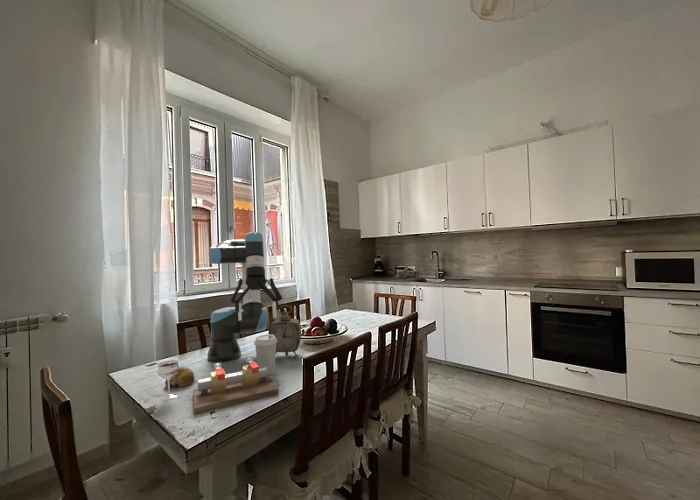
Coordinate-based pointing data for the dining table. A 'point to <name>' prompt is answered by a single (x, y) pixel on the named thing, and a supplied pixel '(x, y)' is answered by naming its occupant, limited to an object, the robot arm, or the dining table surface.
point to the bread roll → (181, 378)
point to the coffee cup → (266, 352)
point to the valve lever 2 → (252, 365)
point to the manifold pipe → (231, 380)
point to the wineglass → (168, 375)
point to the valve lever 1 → (219, 371)
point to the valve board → (233, 395)
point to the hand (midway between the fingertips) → (257, 319)
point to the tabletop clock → (286, 333)
